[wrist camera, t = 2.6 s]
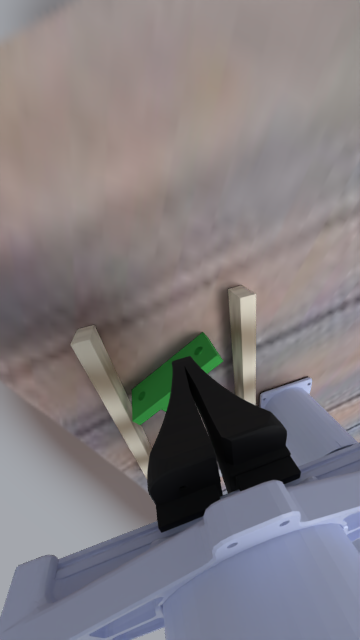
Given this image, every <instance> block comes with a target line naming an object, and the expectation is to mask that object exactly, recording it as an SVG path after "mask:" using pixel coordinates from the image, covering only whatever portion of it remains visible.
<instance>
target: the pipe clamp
mask: <svg viewBox="0 0 360 640" xmlns="http://www.w3.org/2000/svg"><path fill="white" fill-rule="evenodd" d="M187 356H191V357H192V358H193V360H194V361H195V362H196V363H197V364H198V365H199V366H200V367H201V368H202V369H203V370H204V371H205V372H206V373H209V372H210V371H211V370H213V369H214V368H215V367H216V366H218V365H219V364H220V363H222V362H223V360H222V358H221V357H220V355H219V354H218V352H217V351H216V349H215V347H214V346H213V344H212V343H211V341H210V340H209V338H208V337H207V336H206V335H205V334H204V333H203V332H202V333H201V334H200V335H199V336H197V337H196V338H195V339H194V340H193V341H191V342H190V343H189V344H188V345H186V346H185V347H184V348H183V349H181V350H180V351H179V352H178V353H176V354H175V355H174V356H173V357H172V358H170V359H169V360H168V361H167V362H165V363H164V364H163V365H162V366H160V367H159V368H158V369H157V370H155V371H154V372H153V373H152V374H151V375H149V376H148V377H147V378H146V379H144V380H143V381H142V382H141V383H139V384H138V385H137V386H136V387H134V388H133V389H132V421H133V422H135V423H137V424H138V425H141V424H142V423H144V422H145V421H146V420H148V419H149V418H150V417H152V416H153V415H154V414H155V413H157V412H158V411H159V410H161V409H162V410H163V411H165V412H166V411H167V407H168V403H169V398H170V393H171V386H172V361H174V360H177V359H181V358H184V357H187Z"/></svg>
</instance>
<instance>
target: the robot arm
mask: <svg viewBox="0 0 360 640" xmlns="http://www.w3.org/2000/svg"><path fill="white" fill-rule="evenodd" d="M311 384H312V379H311V378H310V377H308V378H305V379H302V380H299V381H296V382H293V383H290V384H287V385H284V386H281V387H278V388H275V389H272V390H269V391H266V392H263V393H261V394H260V407H258V406H256V405H254V404H252V403H250V402H248V401H246V400H244V399H242V398H240V397H238V396H237V395H235V394H233V393H232V392H230V391H229V390H227V389H226V388H224V387H223V386H221V385H220V384H219V383H217V382H216V381H215V380H214V379H212V378H211V377H210V376H209V375H208V374H207V373H206V372H205V371H204V370H203V369H202V368H201V367H200V366H199V365H198V364H197V363H196V362H195V361H194V360H193V358H192V357H191V356H187V357H184V358H181V359H177V360H174V361H172V386H171V393H170V398H169V403H168V407H167V411H166V414H165V418H164V421H163V424H162V426H161V429H160V432H159V434H158V437H157V439H156V441H155V443H154V446H153V448H152V450H151V452H150V456H149V462H148V471H147V482H148V492H149V495H150V496H151V498H152V500H153V501H154V503H155V504H156V510H157V521H156V522H153V523H151V524H148V525H146V526H143V527H140V528H138V529H136V530H133V531H130V532H128V533H125V534H122V535H120V536H117V537H115V538H112V539H110V540H107V541H105V542H102V543H99V544H97V545H94V546H92V547H89V548H86V549H84V550H81V551H79V552H76V553H73V554H71V555H68V556H66V557H63V558H61V559H58V558H57V557H56V556H54V555H45V556H41V557H39V558H36V559H34V560H31V561H28V562H26V563H23V564H21V565H19V566H18V567H17V568H16V570H15V573H14V576H13V579H12V582H11V586H10V589H9V592H8V595H7V598H6V601H5V604H4V607H3V610H2V614H1V617H0V640H132V639H135V638H137V637H140V636H143V635H146V634H148V633H151V632H153V631H156V630H159V629H161V628H164V627H165V638H166V640H360V443H358V442H357V441H356V440H355V439H354V438H353V437H352V436H351V435H350V434H349V433H348V432H347V431H346V430H345V429H344V428H343V427H342V426H341V425H340V424H339V423H338V422H337V421H336V420H335V419H334V418H333V417H332V416H331V415H330V414H329V413H328V412H327V411H326V410H325V409H324V408H323V407H322V406H321V405H320V404H319V403H317V402H316V401H315V400H314V399H313V398H312V397H311V396H310V395H309V394H310V389H311ZM195 404H196V405H195ZM196 406H197V407H196ZM197 408H198V410H197ZM198 411H199V412H198ZM199 413H200V415H201V417H202V419H203V422H204V424H205V427H206V429H205V427H204V424H203V422H202V420H201V417H200V415H199ZM206 430H207V431H206ZM207 432H208V434H207ZM208 435H209V436H208ZM217 462H218V464H217ZM218 465H219V468H220V471H221V474H222V477H223V480H224V483H225V486H226V489H227V492H228V494H226V495H223V494H222V489H221V483H220V482H221V480H220V475H219V469H218Z"/></svg>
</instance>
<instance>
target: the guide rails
mask: <svg viewBox="0 0 360 640" xmlns="http://www.w3.org/2000/svg"><path fill="white" fill-rule="evenodd" d="M228 298H229V312H230V327H231V341H232V355H233V369H234V384H235V395H237V396H238V397H240V398H242V399H244V400H246V401H248V402H250V403H252V404H254V405H256V293H254V292H252V291H251V290H249V289H247V288H246V287H244V286H243V285H241V286H237V287H234V288H230V289H228ZM71 347H72V348H73V350H74V352H75V354H76V355H77V357H78V359H79V361H80V363H81V364H82V366H83V368H84V370H85V371H86V373H87V375H88V377H89V378H90V380H91V382H92V384H93V385H94V387H95V389H96V391H97V392H98V394H99V396H100V398H101V399H102V401H103V403H104V405H105V406H106V408H107V410H108V412H109V413H110V415H111V417H112V419H113V420H114V422H115V424H116V426H117V427H118V429H119V431H120V433H121V434H122V436H123V438H124V440H125V441H126V443H127V445H128V447H129V449H130V450H131V452H132V454H133V456H134V457H135V459H136V461H137V463H138V464H139V466H140V468H141V470H142V471H143V473H144V475H145V477H146V478H147V471H148V462H149V456H150V452H151V450H152V447H151V445H150V443H149V441H148V439H147V437H146V435H145V432H144V430H143V428H142V426H141V425H138V424H137V423H135V422H133V421H132V405H131V403H130V400H129V398H128V396H127V394H126V392H125V390H124V388H123V385H122V383H121V381H120V379H119V377H118V375H117V373H116V370H115V368H114V366H113V364H112V362H111V360H110V358H109V355H108V353H107V351H106V349H105V347H104V345H103V343H102V340H101V338H100V336H99V334H98V332H97V330H96V328H95V325H91V326H88V327H84V328H80V329H77V331H76V334H75V336H74V338H73V340H72V342H71Z"/></svg>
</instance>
